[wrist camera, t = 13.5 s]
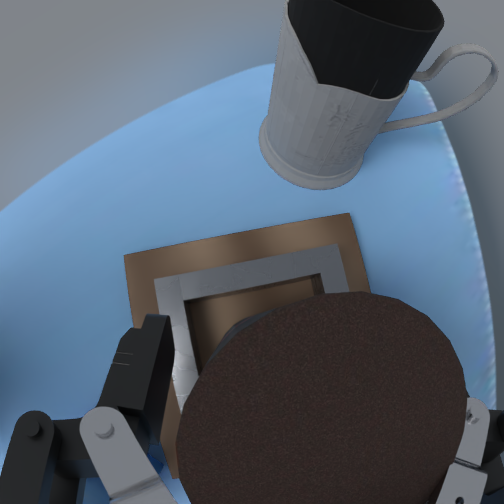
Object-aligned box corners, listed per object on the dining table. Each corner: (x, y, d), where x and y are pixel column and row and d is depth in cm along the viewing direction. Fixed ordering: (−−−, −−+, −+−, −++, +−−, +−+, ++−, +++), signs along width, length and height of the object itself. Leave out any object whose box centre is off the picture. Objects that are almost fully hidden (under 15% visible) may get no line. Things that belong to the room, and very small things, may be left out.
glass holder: (262, 95, 25) (280, -59, 11) (410, 122, 26) (491, 12, 11) (254, 183, 23) (278, 9, 9) (423, 206, 24) (548, 109, 9)
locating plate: (174, 473, 18) (165, 494, 15) (128, 258, 21) (110, 246, 18) (388, 422, 19) (411, 435, 16) (344, 217, 23) (361, 199, 20)
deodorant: (197, 353, 19) (109, 428, 5) (270, 295, 20) (363, 224, 6) (257, 421, 18) (306, 587, 4) (327, 363, 19) (497, 421, 5)
